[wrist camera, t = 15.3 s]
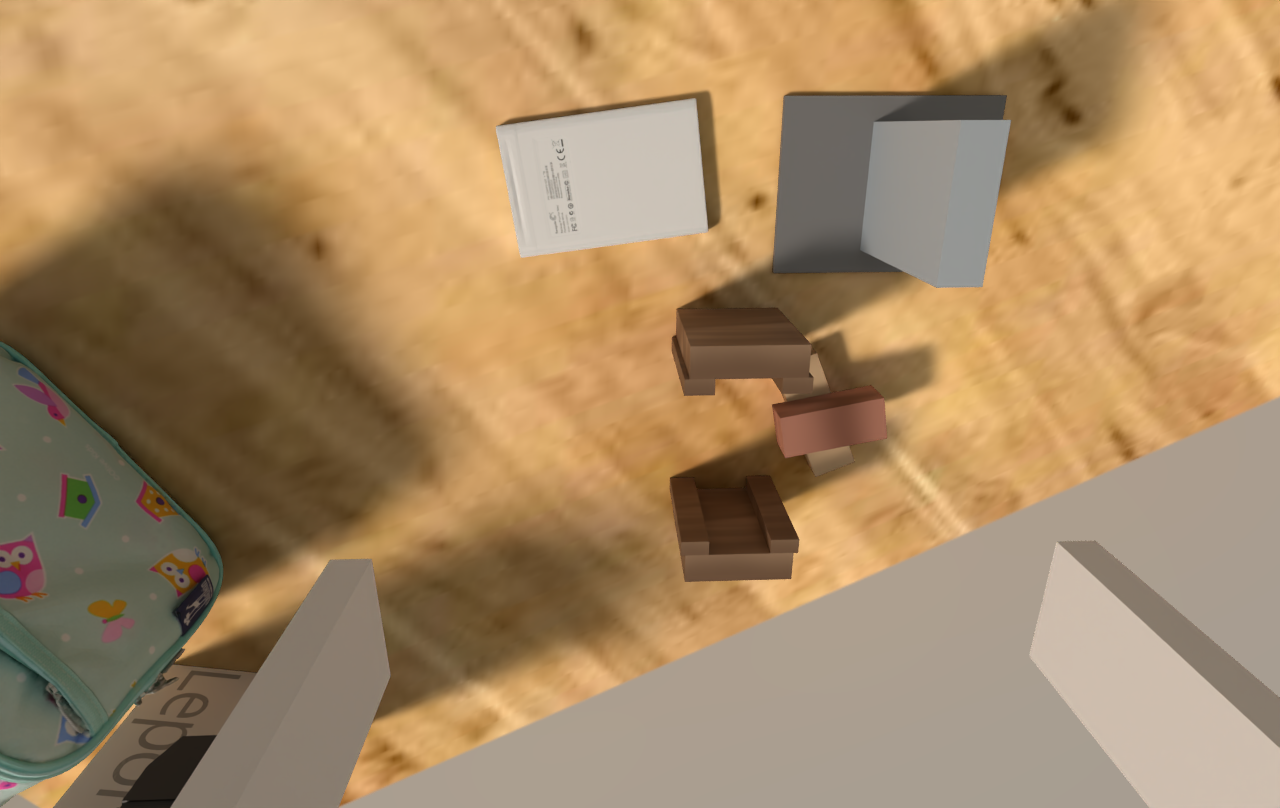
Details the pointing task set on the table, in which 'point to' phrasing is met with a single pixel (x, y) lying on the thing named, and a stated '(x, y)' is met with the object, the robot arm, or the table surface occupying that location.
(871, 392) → the mahogany offcut
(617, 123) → the external hard drive
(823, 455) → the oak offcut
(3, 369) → the lunch box
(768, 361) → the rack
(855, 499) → the table surface
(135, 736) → the brochure
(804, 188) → the mat
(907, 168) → the grey upright panel
